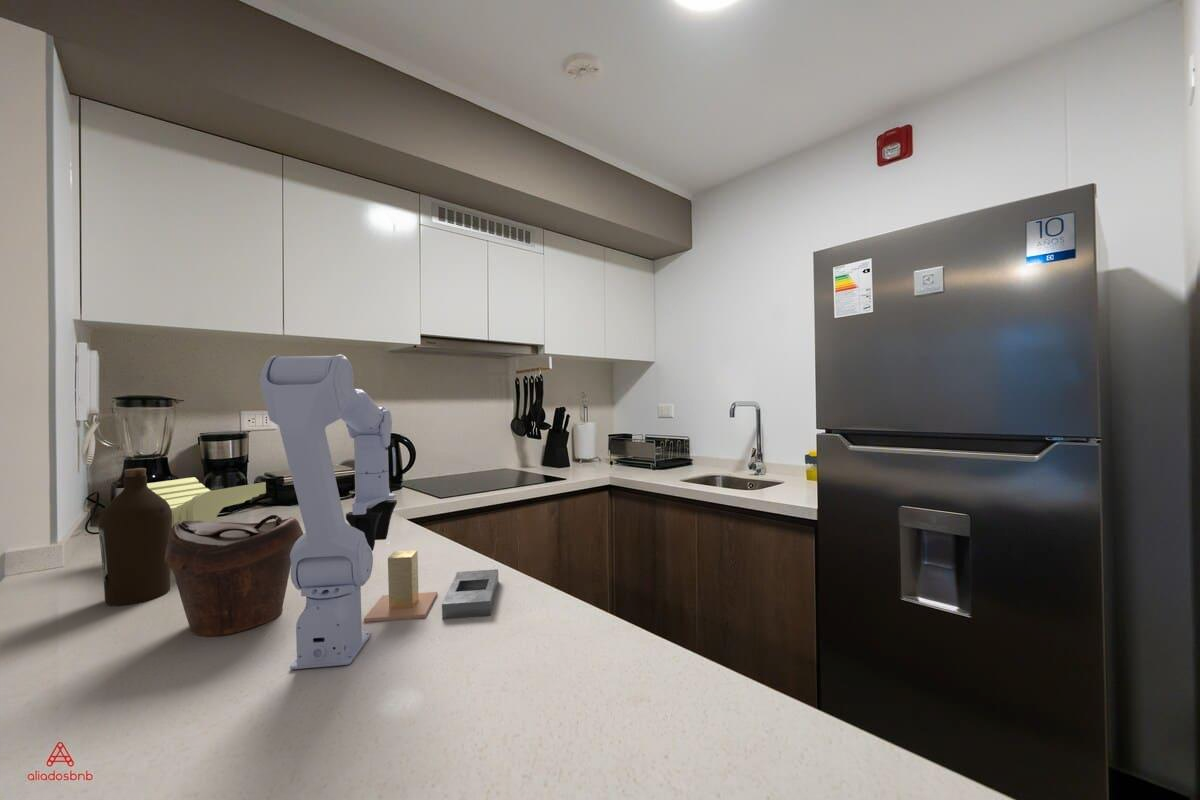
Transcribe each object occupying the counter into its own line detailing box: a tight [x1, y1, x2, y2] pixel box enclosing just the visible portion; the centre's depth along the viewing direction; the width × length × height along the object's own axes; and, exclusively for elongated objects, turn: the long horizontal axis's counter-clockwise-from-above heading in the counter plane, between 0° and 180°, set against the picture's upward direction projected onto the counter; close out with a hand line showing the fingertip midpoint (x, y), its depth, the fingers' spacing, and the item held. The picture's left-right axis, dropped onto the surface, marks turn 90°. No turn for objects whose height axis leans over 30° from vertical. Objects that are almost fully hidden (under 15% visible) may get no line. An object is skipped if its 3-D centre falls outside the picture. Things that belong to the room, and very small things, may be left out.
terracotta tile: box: [363, 591, 438, 623], centre depth 90 cm, size 10×10×1 cm
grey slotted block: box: [441, 569, 500, 620], centre depth 93 cm, size 16×8×2 cm, turn 7°
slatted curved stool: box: [147, 476, 267, 527], centre depth 124 cm, size 30×16×18 cm, turn 66°
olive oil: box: [97, 467, 172, 606], centre depth 98 cm, size 11×11×25 cm
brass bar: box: [387, 549, 420, 610], centre depth 90 cm, size 4×4×9 cm
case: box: [165, 514, 304, 637], centre depth 87 cm, size 18×20×18 cm
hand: (373, 545), depth 93 cm, fingers open, 7 cm apart
